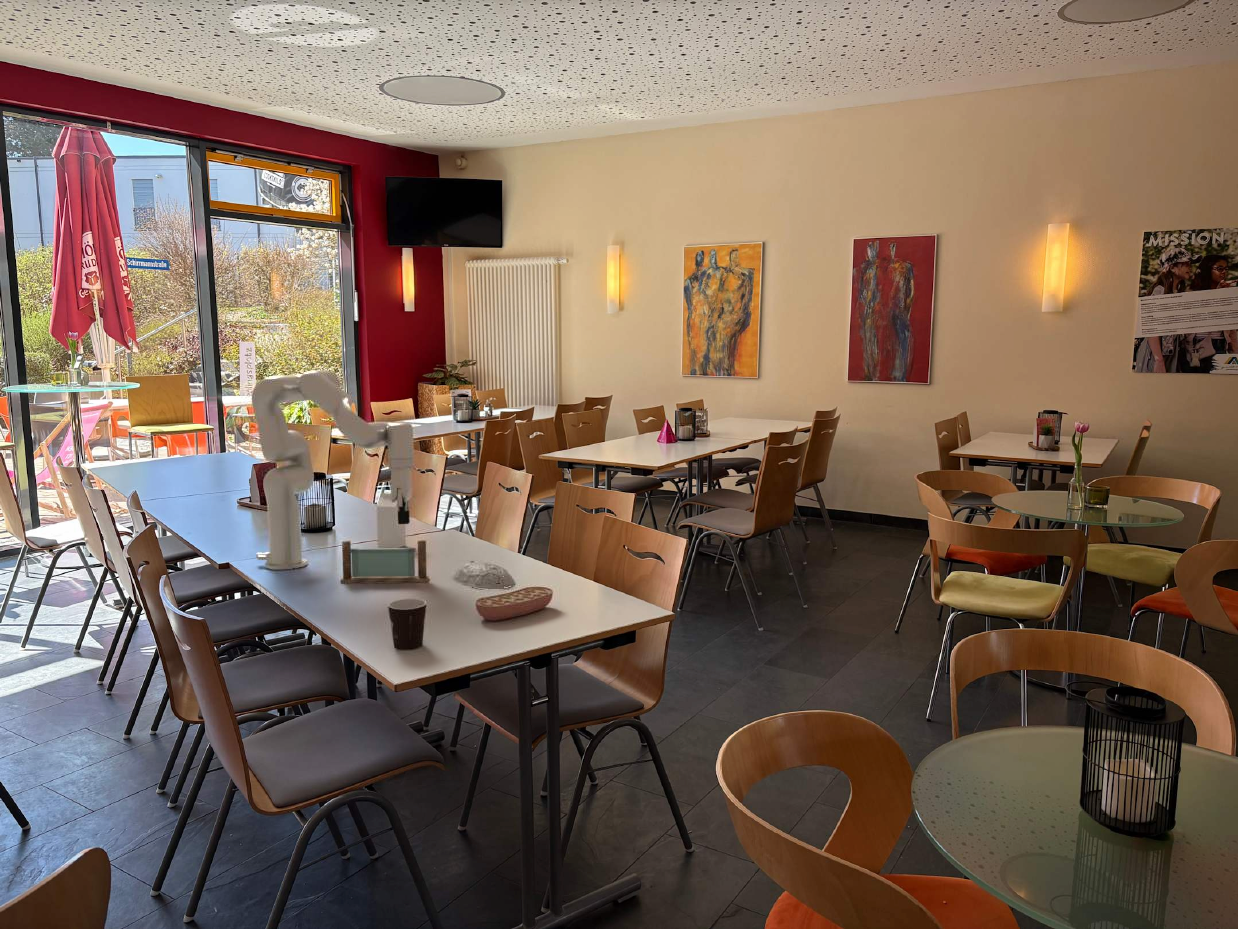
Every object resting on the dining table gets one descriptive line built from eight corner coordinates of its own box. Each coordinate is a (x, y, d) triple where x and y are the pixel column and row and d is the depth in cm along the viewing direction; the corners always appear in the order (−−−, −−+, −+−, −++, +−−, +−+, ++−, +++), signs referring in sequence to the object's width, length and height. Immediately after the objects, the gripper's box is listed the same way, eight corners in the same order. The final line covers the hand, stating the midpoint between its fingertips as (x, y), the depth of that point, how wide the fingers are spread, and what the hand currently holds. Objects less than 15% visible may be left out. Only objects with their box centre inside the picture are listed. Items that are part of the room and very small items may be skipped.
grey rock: (487, 592, 245) (488, 569, 245) (437, 580, 263) (438, 558, 263) (529, 588, 256) (530, 565, 256) (479, 577, 274) (480, 555, 274)
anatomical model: (538, 602, 237) (538, 584, 237) (561, 610, 230) (561, 591, 230) (468, 619, 221) (468, 600, 221) (491, 628, 214) (491, 609, 214)
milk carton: (396, 549, 298) (395, 495, 296) (377, 548, 300) (376, 494, 297) (405, 545, 305) (404, 492, 303) (387, 544, 307) (385, 491, 304)
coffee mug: (396, 639, 205) (395, 598, 204) (432, 640, 205) (431, 599, 203) (378, 655, 194) (377, 612, 193) (416, 657, 193) (415, 613, 192)
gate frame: (340, 583, 255) (339, 543, 253) (344, 579, 259) (342, 540, 257) (426, 582, 256) (425, 542, 255) (428, 579, 260) (427, 539, 259)
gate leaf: (350, 577, 256) (349, 549, 255) (352, 575, 257) (351, 548, 256) (415, 576, 257) (414, 548, 256) (416, 575, 259) (415, 547, 258)
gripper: (393, 461, 269) (396, 519, 271) (383, 467, 254) (386, 528, 256) (418, 460, 269) (420, 518, 271) (409, 466, 254) (412, 528, 256)
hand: (403, 523), depth 264 cm, fingers closed
